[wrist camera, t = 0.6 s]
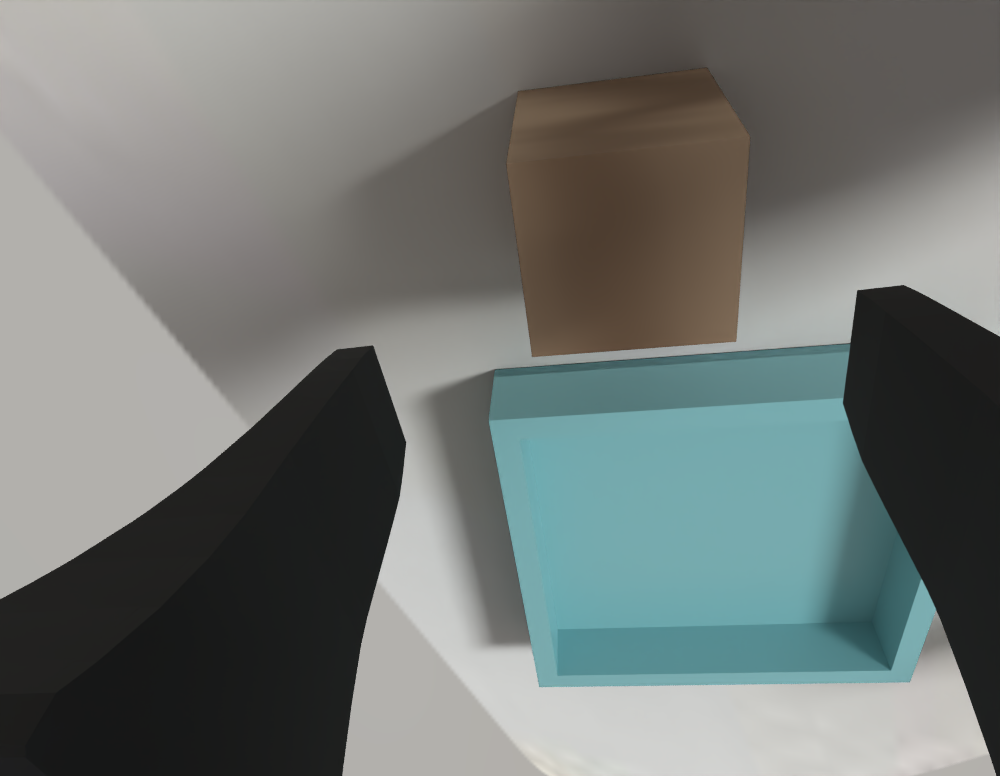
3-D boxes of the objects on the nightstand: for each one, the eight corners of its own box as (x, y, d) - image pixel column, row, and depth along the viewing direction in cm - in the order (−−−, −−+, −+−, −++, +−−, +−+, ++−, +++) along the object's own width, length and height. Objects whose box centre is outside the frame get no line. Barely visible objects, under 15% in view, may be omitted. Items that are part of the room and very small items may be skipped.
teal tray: (973, 334, 21) (1016, 386, 19) (886, 624, 29) (909, 682, 27) (494, 369, 23) (488, 420, 21) (540, 632, 31) (539, 687, 29)
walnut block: (706, 67, 17) (750, 136, 13) (701, 240, 20) (736, 341, 16) (518, 90, 18) (505, 164, 14) (537, 255, 20) (532, 356, 17)
